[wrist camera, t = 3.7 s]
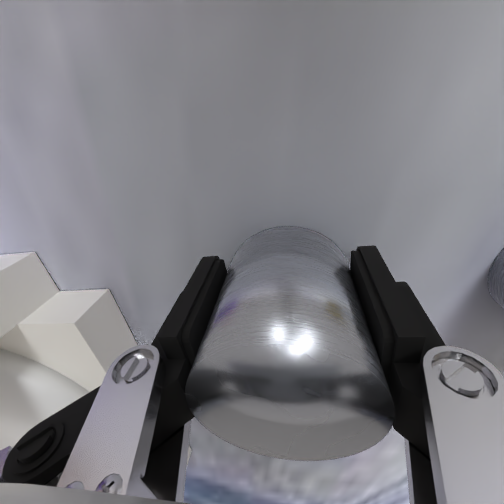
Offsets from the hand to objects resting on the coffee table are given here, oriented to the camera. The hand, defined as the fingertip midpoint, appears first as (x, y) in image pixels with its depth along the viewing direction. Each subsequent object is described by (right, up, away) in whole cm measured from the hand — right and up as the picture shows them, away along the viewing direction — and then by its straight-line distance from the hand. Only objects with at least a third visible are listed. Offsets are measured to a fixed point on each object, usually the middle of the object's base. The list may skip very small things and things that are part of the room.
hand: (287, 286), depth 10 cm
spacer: (0, 0, 0) cm, 0 cm away
